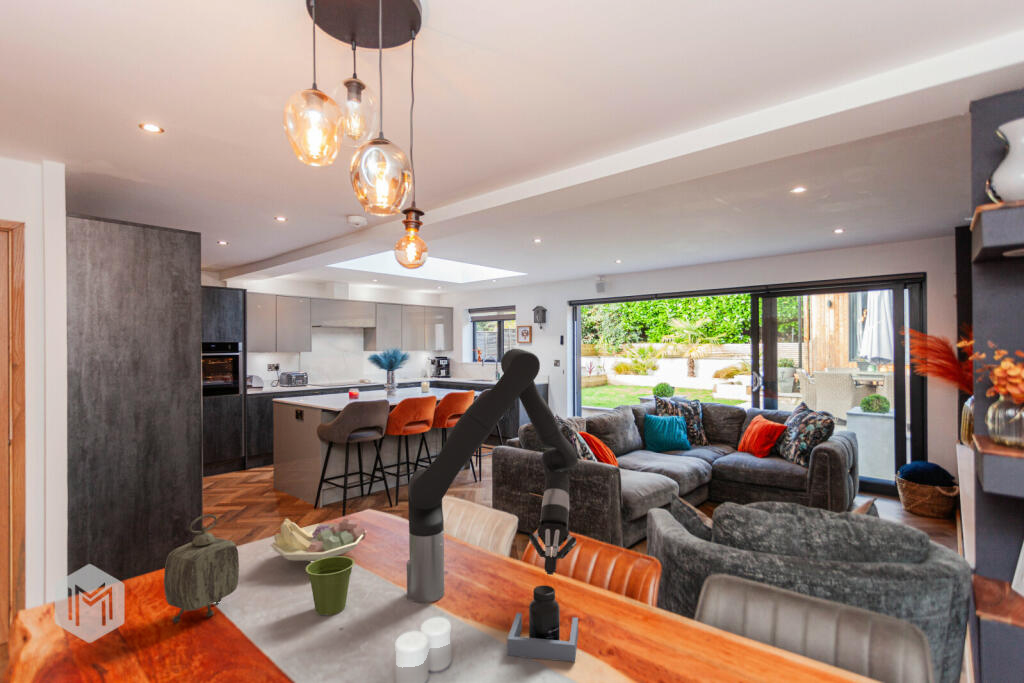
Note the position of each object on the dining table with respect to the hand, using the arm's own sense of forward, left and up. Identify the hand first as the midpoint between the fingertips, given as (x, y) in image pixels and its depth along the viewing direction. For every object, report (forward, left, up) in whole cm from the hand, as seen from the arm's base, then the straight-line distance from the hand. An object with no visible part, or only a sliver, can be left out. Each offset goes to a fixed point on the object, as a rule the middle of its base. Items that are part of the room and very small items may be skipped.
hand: (549, 573), depth 128 cm
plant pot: (-56, -8, -10) cm, 57 cm away
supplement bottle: (0, -15, -10) cm, 18 cm away
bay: (0, -14, -9) cm, 17 cm away
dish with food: (-76, +20, -10) cm, 79 cm away
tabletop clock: (-86, -16, -10) cm, 88 cm away
